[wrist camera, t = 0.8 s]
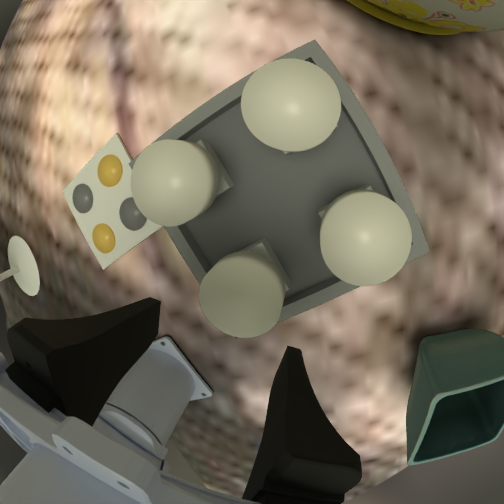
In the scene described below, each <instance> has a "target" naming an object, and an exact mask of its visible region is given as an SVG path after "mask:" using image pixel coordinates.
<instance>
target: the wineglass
mask: <svg viewBox="0 0 504 504" xmlns="http://www.w3.org/2000/svg"><path fill="white" fill-rule="evenodd" d="M8 259H9V264H10V268H11V269H9V270H7V271H5V272H3V273H1V274H0V281H2V280H4V279H6V278H8V277H10V276H12V275H13V276H14V278H15V280H16V282H17V283H18V285H19V286H20V288H21V289H22V290H23V291H24V292H25V293H26V294H28V295H30V296H34V295H36V294H37V293H38V291H39V285H40V280H39V272H38V268H37V264H36V261H35V259H34V256H33V254H32V252H31V250H30V248H29V247H28V245H27V243H26V242H25V241H24V240H23V239H22V238H20V237H19V236H13V237H12V238H11V239H10V241H9V244H8Z"/></svg>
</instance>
